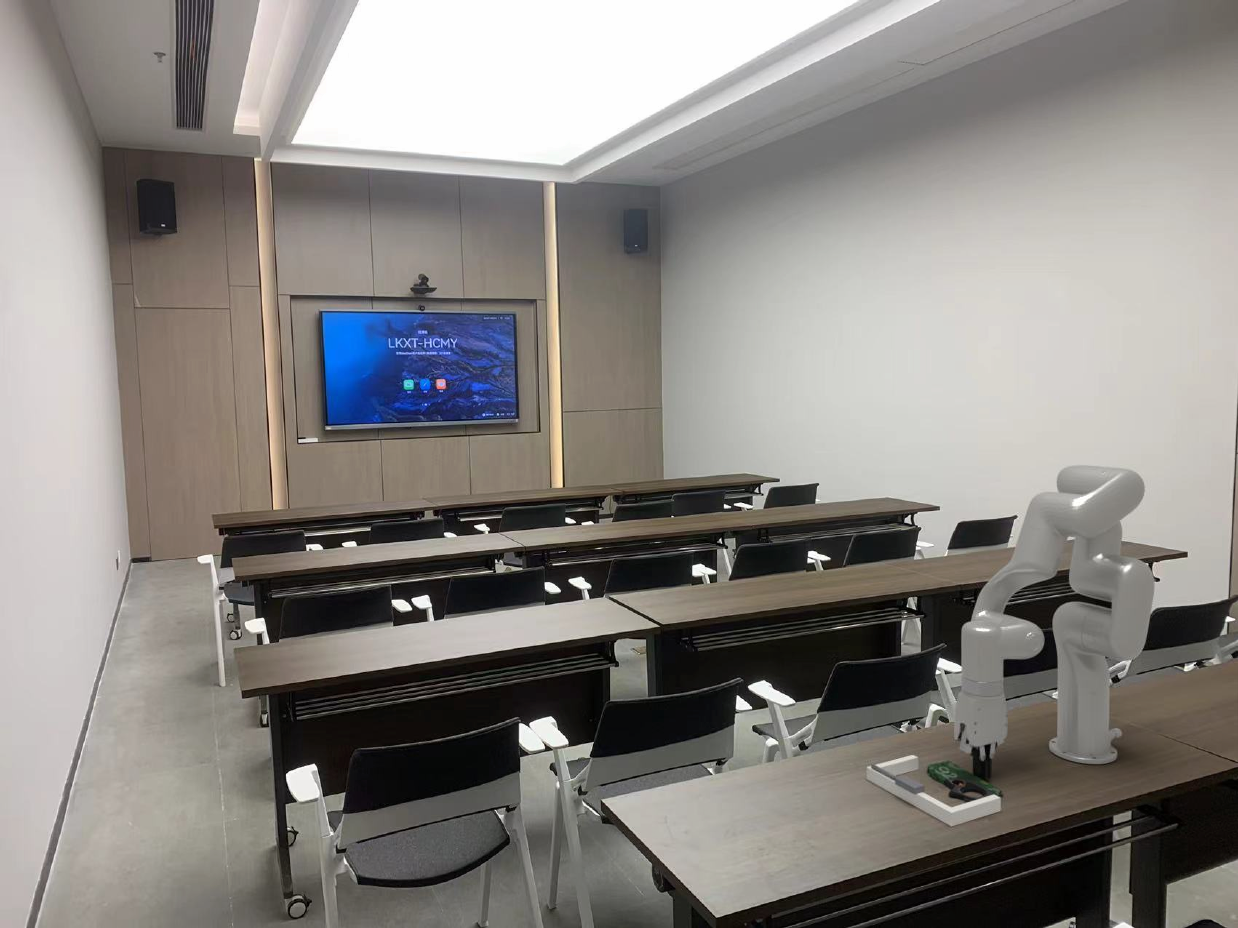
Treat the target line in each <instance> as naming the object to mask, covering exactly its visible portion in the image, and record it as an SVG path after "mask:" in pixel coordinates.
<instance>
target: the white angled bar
mask: <svg viewBox="0 0 1238 928" xmlns="http://www.w3.org/2000/svg"><path fill="white" fill-rule="evenodd" d="M917 770H919V757H918V756H916V755H914V754H912V755H907V756H904V757H899V758H896V759H892V760H888V761H884V762H881V763H878V764H874V763H871V764H870V765H869V766H866V780H867V781H868V782H871V783H873V784H875V785H876V786H878V787H880V788H881V789H883V790H885V791H887V792H889V793H890V794H893V795H894V796H895V797H898V798H900V799H901V800H903V801H904V802H907V803H908V804H910V805H912V806H914V807H916V808H917V809H919V810H921V811H923V812H925V813H926V814H928V815H930V816H932V817H933V818H936V819H937V820H939V821H940V822H942V823H944V824H946V825H948V826H950V827H954V826H958V825H961V824H964V823H968V822H971V821H973V820H974V821H975V820H977V819H979V818H983V817H986V816H989V815H993V814H995V813H999V812H1001V809H1002V807H1001V805H1002V804H1001V803H1002V802H1001V801H1002V800H1001V799H1002V798H1001V797H998V796H996V795H991V796H987V797H984V798H981V799H978V800H974V801H971V802H968V803H966V802H964V803H962V804H959V805H955V806H949V805H947V804H945V803H943V802H942V801H940V800H938V799H936V798H935V797H932V796H931V795H929V794H927V793H925V784H922V783H921V782H919V781H916V780H915V779H913V778H911V777H909V776H907V775H906V773H907V774H908V773H909V772H914V771H917Z"/></svg>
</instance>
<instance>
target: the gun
mask: <svg viewBox="0 0 1238 928" xmlns="http://www.w3.org/2000/svg"><path fill="white" fill-rule="evenodd" d="M926 770H927V772H926V773H927V774H928V776H929V777H930V778H931V779H932V780H934V781H935V782H936V783H937V782H938V783H940V784H941V785H943V786H945V787H947V788H948V789H949V792H948V797H949V798H950V799H954V800H955V799H956V800H959V801H963V802H964V803H968V802H971V801H974V800H978V799H981V798H984V797H987V796H991V795H996V796H998V797H1000V798H1001V797H1004V793H1003V791H1002V790H1000V789H999V788H997V787H996V786H994V785H993V784H991V783H990V782H988V781H986V780H983V779H981V778H979V777H977V776H975V775H973V773H972V772H970V771H968V770H966V769H965V768H962V767H961V766H960V765H957V764H956V763H954V762H952V761H950V760H946V761H941V762H936V763H930V764H928V765H927V768H926ZM966 793H975V794H980V795H981V796H970V795H967V794H966Z"/></svg>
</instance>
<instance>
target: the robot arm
mask: <svg viewBox="0 0 1238 928" xmlns="http://www.w3.org/2000/svg"><path fill="white" fill-rule="evenodd" d="M1056 477H1057V478H1056V488H1057V491H1045V492H1040V493H1037V494H1035V496H1034V497H1033V498H1032V499H1031V500H1030V502H1029V504H1028V507H1027V510H1026V513H1025V516H1024V520H1023V522H1022V526H1021V528H1020V531H1019V535H1018V539H1017V540H1016V544H1015V547H1014V550H1013V554H1012V556H1011V559H1010V561H1009V562H1008V563H1007V564H1006V565H1005V566H1003V568H1001V569H1000V570H999V571H997V572H996V573H995V574H994V575H993V576H992V577H991V578H990V580H988V581H987V583H986V584H985V585H984V586H983V587H982V589H981V591H980V592H979V593H978V596H977V599H976V602H975V605H974V609H973V611H972V615H971V620H970V621H968V622H965V623H964V624H963V625H962V627H961V691H960V692H958V696H957V698H956V699H957V700H956V705H955V710H954V711H955V712H954V723H953V736H954V737H953V738H954V740H955V741H957V742H960V745H959V751H960V752H963V753H964V754H969V755H970V756H971V757H972V774H973V775H975V776H976V777H978V778H980V779H982V780H984V781H986V780H988V779H989V780H990V779H992V775H993V774H992V771H993V770H992V769H993V768H992V766H993V765H992V762H993V760H992V759H993V758H994V757H995V751H996V750H997V748H998V747H999V746H1000V745H1002V744H1003V743H1004V742H1005V739H1006V738H1007V735H1008V729H1009V728H1008V724H1009V723H1008V719H1009V718H1008V711H1007V710H1008V708H1007V702H1006V701H1007V700H1006V696H1005V691H1004V681H1005V678H1004V660H1027V659H1031V658H1034V657H1035V656H1037V655H1038V654H1039V653H1040V652H1041V651H1042V650H1043V648H1044V645H1045V636H1044V633H1043V630H1042V629H1041V628H1040V627H1039V626H1038V625H1037V624H1035V623H1033V622H1031V621H1029V620H1026V619H1022V618H1018V617H1016V616H1012V615H1008V614H1005V613H1004V612H1005V608H1006V606H1007V604H1008V603H1009V600H1011V598H1012V597H1013V596H1014V594H1015V593H1017V592H1019V591H1020V590H1021V589H1023V588H1025V587H1028V586H1031V585H1034V584H1037V583H1040V582H1043V581H1047V580H1049V579H1052V578H1053V577H1055V576H1056V575H1057V573H1058V570H1059V566H1060V563H1061V560H1062V557H1063V553H1064V550H1065V548H1066V544H1067V542H1068V539H1069V537H1070V538H1074V542H1073V549H1072V554H1071V560H1070V561H1071V562H1070V567H1069V575H1068V577H1069V578H1068V582H1069V585H1070V587H1071V589H1072V590H1073V591H1074V592H1076V593H1077V594H1080V595H1083V596H1086V597H1089V598H1093V599H1097V600H1101V601H1105V602H1109V603H1111V608H1108V607H1105V606H1101V605H1098V604H1097V605H1096V604H1093V603H1088V602H1082V601H1070V602H1066V603H1064V604H1061V605H1060V606H1059V607H1058V608H1057V609H1055V610H1056V611H1055V612H1054V614H1053V617H1052V632H1053V636H1054V640H1055V641H1054V642H1055V645H1056V653H1057V654H1056V655H1057V724H1056V725H1057V730H1056V731H1057V733H1056V735H1057V736H1056V737H1053V738H1051V739H1050V741H1048V748H1049V750H1050V752H1052V753H1053V754H1054V755H1055V756H1057V757H1059V758H1062V759H1065V760H1067V761H1071V762H1074V763H1081V764H1087V765H1104V764H1110V763H1112V762H1114V761H1115V760H1117V758H1118V751H1117V750H1118V749H1116V748H1115V747H1114V746H1113V745H1112V744H1111V743H1112V742H1113V740H1114V739H1115V740H1116V739H1117V738H1121V737H1122V735H1123V732H1122V730H1121V729H1120V728H1118V727H1115V728H1112V729H1110V683H1111V682H1110V680H1111V677H1110V676H1111V675H1110V669H1109V665H1108V662H1107V659H1106V658H1109V659H1113V660H1117V661H1121V662H1129V661H1132V660H1135V659H1136V658H1137V657H1138V656H1140V654H1141V653H1142V652H1143V649H1144V647H1145V644H1146V641H1147V635H1148V631H1149V625H1150V619H1151V613H1152V608H1153V600H1154V595H1155V577H1154V574H1153V572H1152V569H1151V568H1150V566H1149V565H1148V564H1147V563H1146V562H1144V561H1142V560H1141V559H1138V558H1135V557H1130V556H1123V555H1121V549H1122V542H1123V541H1122V539H1123V525H1122V523H1121V520H1123V519H1124V518H1126V517H1127V516H1128V515H1129V514H1131V513H1132V512H1133V511H1134V510H1135V509H1137V508H1138V507H1139V505H1140V504H1141V502H1142V501H1143V499H1144V496H1145V493H1146V492H1145V491H1146V490H1145V488H1146V487H1145V482H1144V479H1143V478H1142V477H1141V475H1140V474H1139V473H1137V471H1134V470H1132V469H1130V468H1129V469H1128V468H1123V467H1111V466H1110V467H1109V466H1098V465H1083V464H1076V465H1069V466H1066V467H1064V468H1062V469H1061V470H1060V471H1059V472H1058V474H1057V476H1056Z"/></svg>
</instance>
